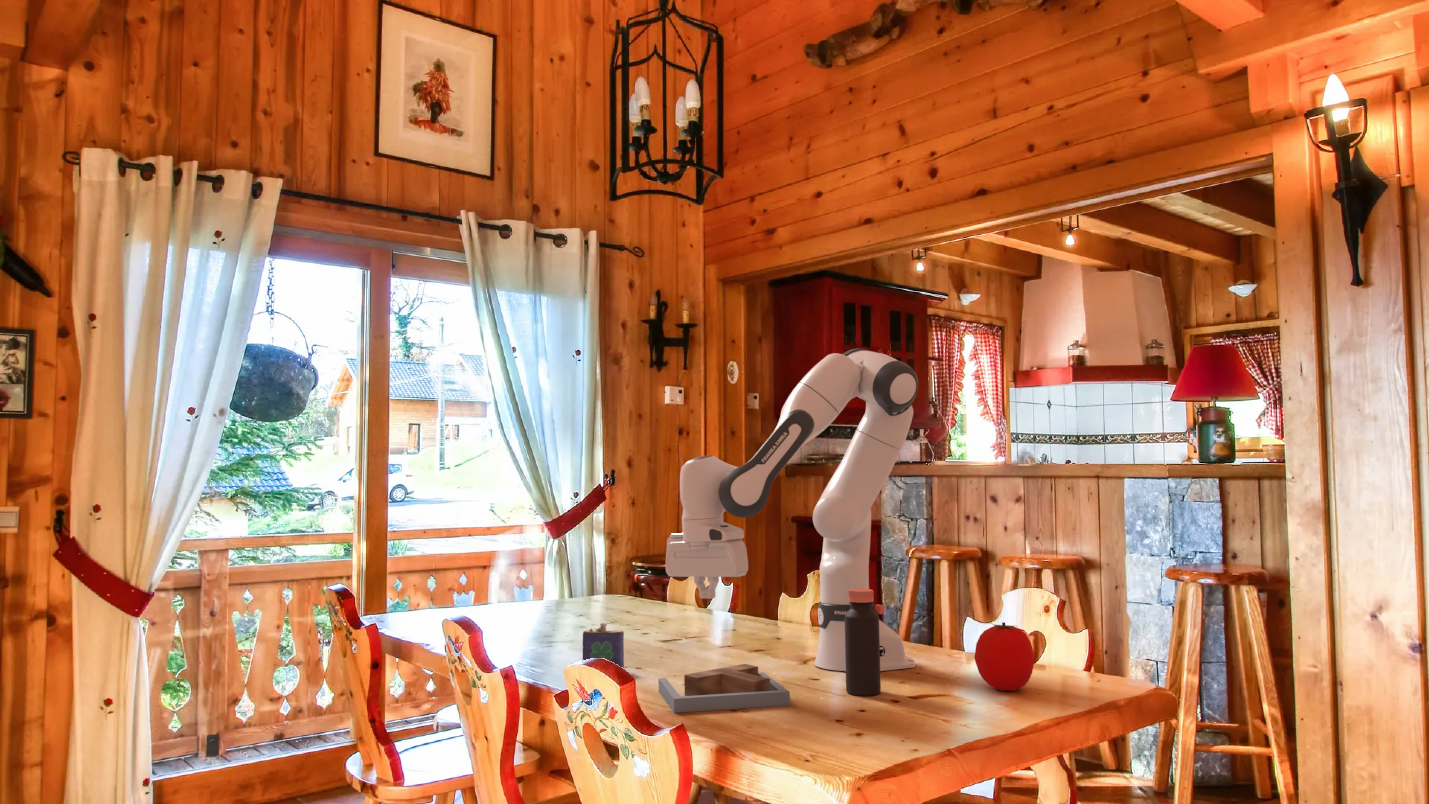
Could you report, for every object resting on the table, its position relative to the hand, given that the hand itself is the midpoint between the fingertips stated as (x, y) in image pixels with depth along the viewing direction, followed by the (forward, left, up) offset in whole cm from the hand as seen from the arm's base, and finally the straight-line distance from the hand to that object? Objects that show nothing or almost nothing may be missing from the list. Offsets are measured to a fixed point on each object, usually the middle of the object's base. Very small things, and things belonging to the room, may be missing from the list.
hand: (707, 598), depth 198 cm
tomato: (-55, +23, -18) cm, 63 cm away
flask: (+21, -16, -18) cm, 31 cm away
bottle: (-27, +18, -17) cm, 37 cm away
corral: (+1, +15, -17) cm, 23 cm away
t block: (-3, +14, -17) cm, 22 cm away
